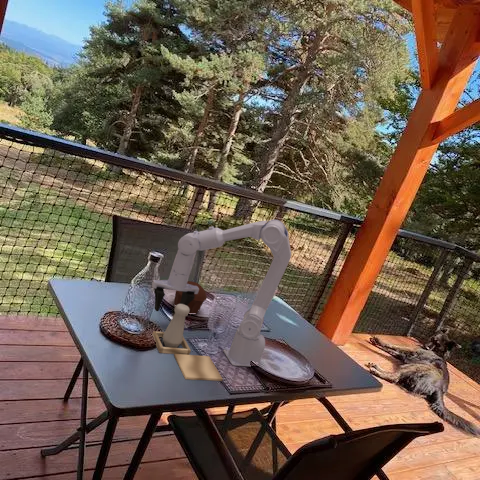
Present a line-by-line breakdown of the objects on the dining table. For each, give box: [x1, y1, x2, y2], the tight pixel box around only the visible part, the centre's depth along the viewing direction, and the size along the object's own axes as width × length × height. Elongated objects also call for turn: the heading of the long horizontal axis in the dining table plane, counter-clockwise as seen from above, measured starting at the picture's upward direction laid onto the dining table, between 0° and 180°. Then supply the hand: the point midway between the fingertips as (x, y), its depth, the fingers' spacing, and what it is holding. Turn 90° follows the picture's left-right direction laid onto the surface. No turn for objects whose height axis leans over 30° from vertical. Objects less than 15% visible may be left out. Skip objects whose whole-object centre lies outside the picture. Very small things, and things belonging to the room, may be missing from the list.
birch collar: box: [151, 330, 192, 355], centre depth 134 cm, size 9×9×2 cm
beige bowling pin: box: [162, 304, 190, 348], centre depth 133 cm, size 6×6×13 cm
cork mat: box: [173, 354, 224, 382], centre depth 127 cm, size 11×11×1 cm
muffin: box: [173, 280, 208, 314], centre depth 161 cm, size 12×11×10 cm
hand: (168, 311), depth 141 cm, fingers open, 7 cm apart
